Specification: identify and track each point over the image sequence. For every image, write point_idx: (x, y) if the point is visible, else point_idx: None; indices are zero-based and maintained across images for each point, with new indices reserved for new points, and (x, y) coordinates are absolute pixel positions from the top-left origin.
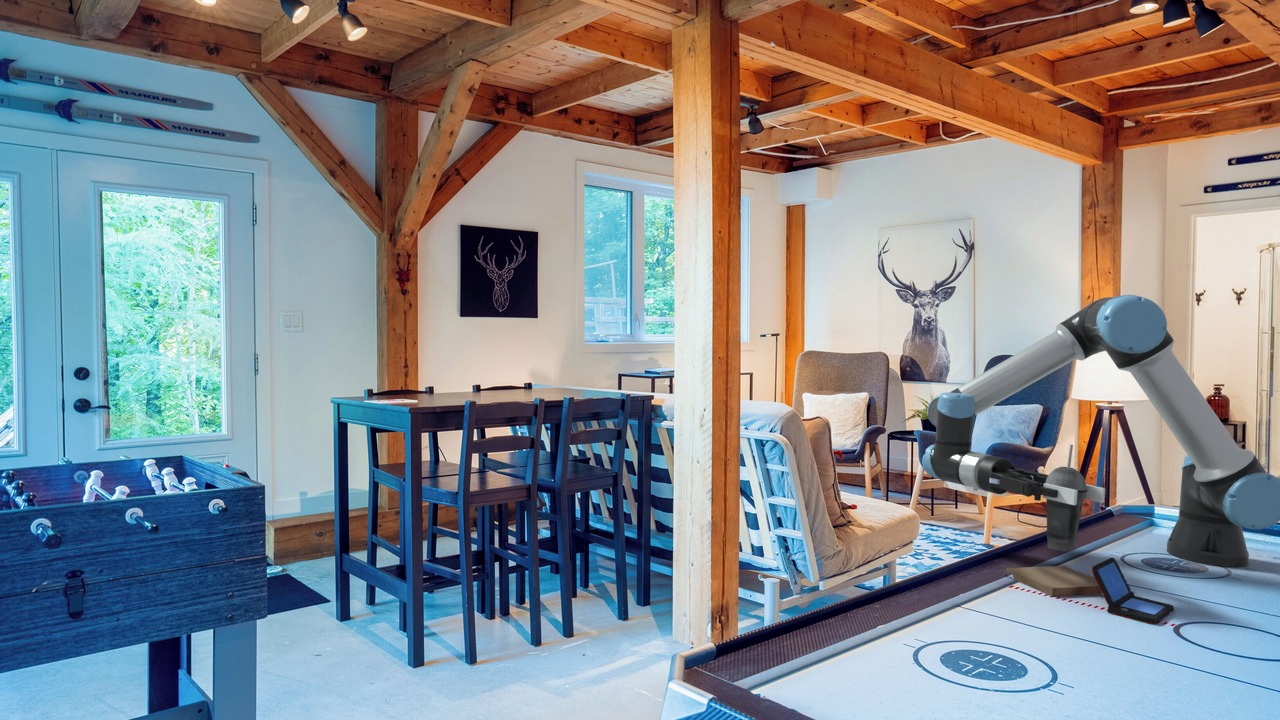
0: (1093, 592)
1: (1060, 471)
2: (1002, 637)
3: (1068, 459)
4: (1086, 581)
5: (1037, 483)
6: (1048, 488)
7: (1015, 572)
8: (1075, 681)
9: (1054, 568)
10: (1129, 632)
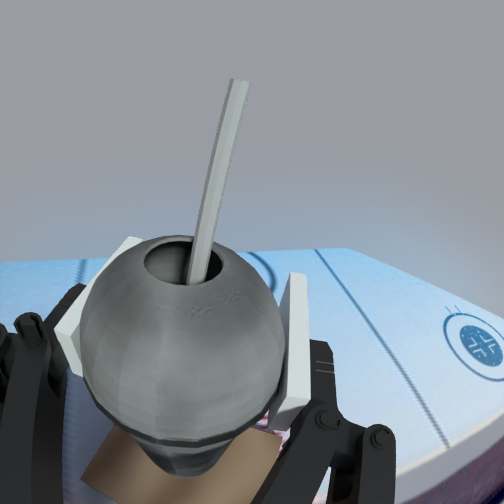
0: None
1: (259, 288)
2: (452, 371)
3: (220, 194)
4: None
5: (338, 418)
6: (319, 373)
7: None
8: (440, 309)
9: (124, 490)
10: (312, 327)
